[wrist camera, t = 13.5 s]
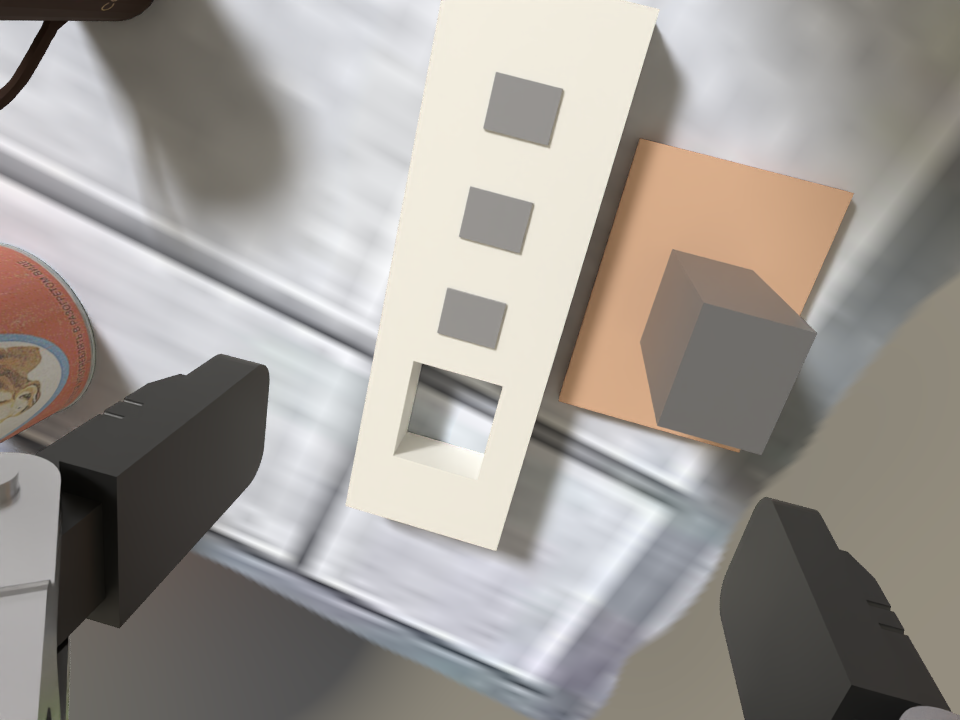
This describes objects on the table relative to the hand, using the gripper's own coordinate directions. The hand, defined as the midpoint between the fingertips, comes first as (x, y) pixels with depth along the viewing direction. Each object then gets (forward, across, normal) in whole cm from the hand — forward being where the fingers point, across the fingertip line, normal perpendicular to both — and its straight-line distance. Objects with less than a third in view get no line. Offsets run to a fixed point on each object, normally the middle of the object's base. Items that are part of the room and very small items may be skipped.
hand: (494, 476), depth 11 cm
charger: (+24, -7, +3) cm, 25 cm away
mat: (+25, -7, +3) cm, 26 cm away
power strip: (+25, +3, +4) cm, 25 cm away
